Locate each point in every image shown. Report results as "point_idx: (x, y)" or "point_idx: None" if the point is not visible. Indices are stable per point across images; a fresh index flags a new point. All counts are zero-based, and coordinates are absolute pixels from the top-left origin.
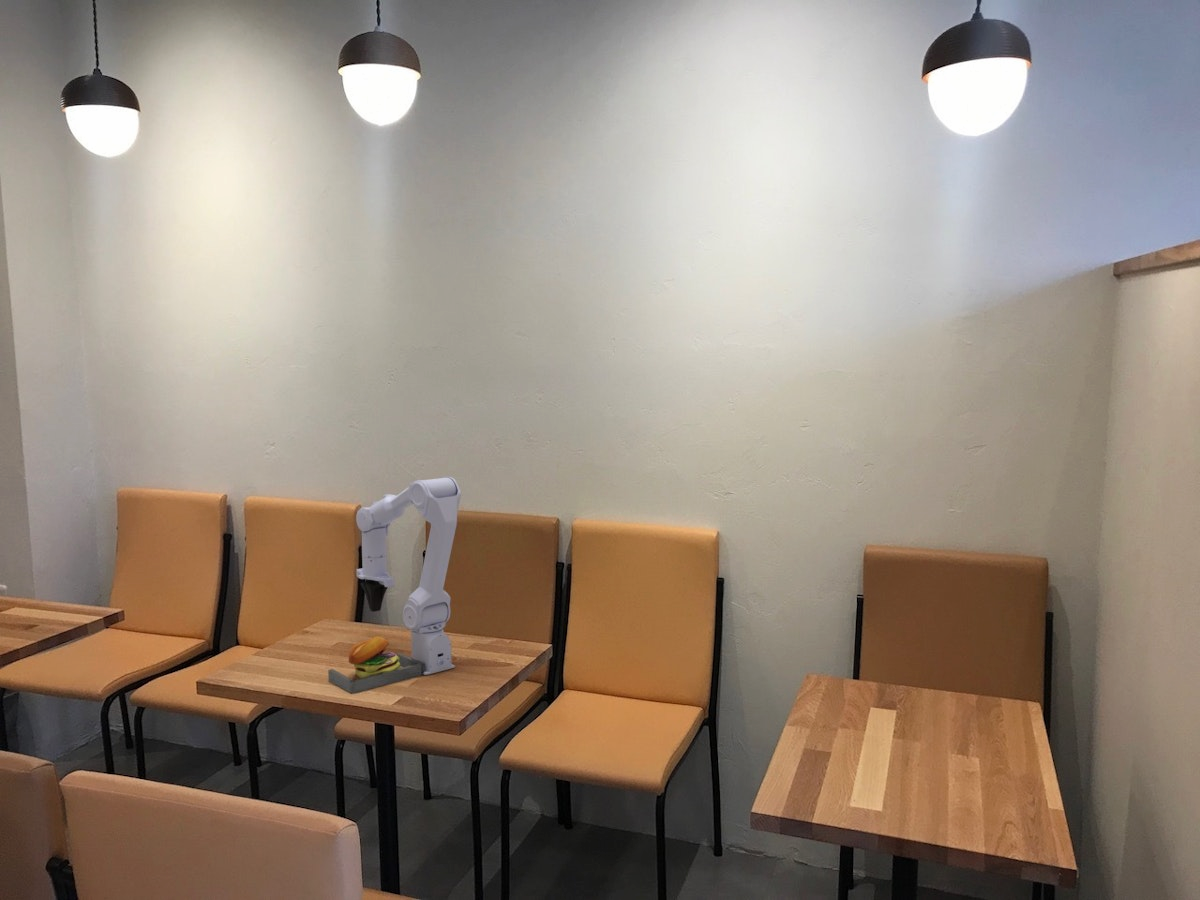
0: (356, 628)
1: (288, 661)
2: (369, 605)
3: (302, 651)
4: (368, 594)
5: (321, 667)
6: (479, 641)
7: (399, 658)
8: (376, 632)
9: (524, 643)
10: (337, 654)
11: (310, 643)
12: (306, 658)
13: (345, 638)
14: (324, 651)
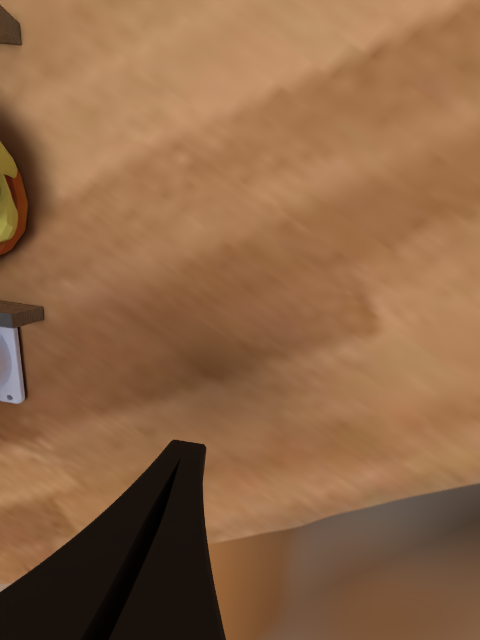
0: (448, 451)
1: (345, 40)
2: (189, 466)
3: (405, 167)
4: (147, 562)
5: (178, 103)
6: None
7: (6, 309)
8: (356, 459)
9: (4, 579)
10: (264, 240)
11: (460, 250)
12: (316, 125)
13: (392, 366)
14: (331, 228)
